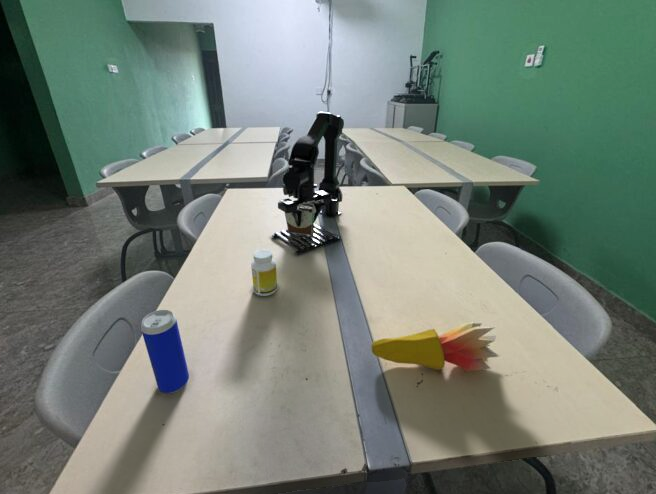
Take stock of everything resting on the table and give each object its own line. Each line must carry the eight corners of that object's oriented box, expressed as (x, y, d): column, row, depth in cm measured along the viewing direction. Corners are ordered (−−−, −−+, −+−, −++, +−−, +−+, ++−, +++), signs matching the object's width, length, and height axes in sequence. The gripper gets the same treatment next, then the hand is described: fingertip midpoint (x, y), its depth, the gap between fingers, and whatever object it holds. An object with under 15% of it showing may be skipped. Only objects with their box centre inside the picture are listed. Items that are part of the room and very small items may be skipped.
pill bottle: (281, 285, 86) (279, 250, 82) (269, 299, 81) (267, 262, 76) (261, 281, 88) (258, 246, 83) (249, 293, 83) (245, 257, 78)
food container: (323, 230, 112) (322, 202, 109) (315, 236, 107) (313, 207, 104) (293, 226, 117) (291, 200, 114) (284, 232, 112) (282, 205, 109)
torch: (372, 368, 67) (491, 357, 66) (376, 385, 59) (511, 373, 58) (368, 329, 67) (486, 318, 67) (371, 340, 59) (505, 327, 59)
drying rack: (312, 224, 123) (312, 221, 123) (339, 240, 112) (339, 236, 112) (272, 237, 112) (272, 233, 112) (297, 255, 101) (297, 251, 101)
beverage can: (165, 371, 60) (148, 308, 54) (193, 370, 61) (179, 307, 54) (153, 396, 55) (133, 330, 49) (183, 394, 56) (167, 329, 50)
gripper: (313, 171, 115) (313, 211, 121) (268, 179, 104) (270, 223, 110) (333, 178, 107) (332, 220, 114) (286, 188, 96) (288, 234, 102)
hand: (306, 224), depth 110 cm, fingers closed on food container, 6 cm apart
